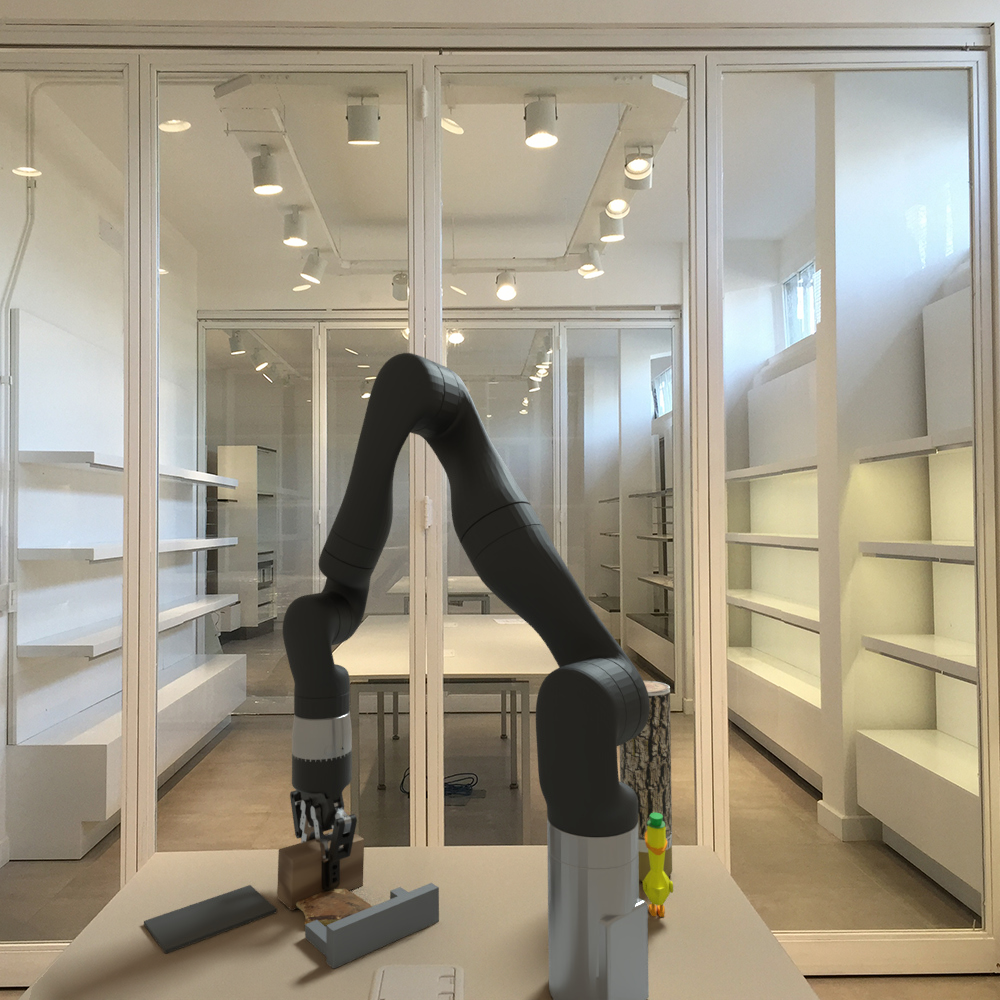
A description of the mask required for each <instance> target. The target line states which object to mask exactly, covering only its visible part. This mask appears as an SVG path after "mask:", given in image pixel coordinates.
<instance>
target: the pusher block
mask: <svg viewBox="0 0 1000 1000" xmlns="http://www.w3.org/2000/svg"><path fill="white" fill-rule="evenodd" d="M330 843H331V841H329V842H328V851H329V849H330ZM342 847H343V845H342ZM364 855H365V838H363V837H361V836H360V835H358V834H357V833H354V838H353V843H352V848H351V853H350V856H349V857H346V858H343V859H340V884H339V886H338V887H337V888H335V889H344V888H345V889H346V890H348V891H349V892H350V891H351V890H354V889H357V888H361V887H363V886H364V860H365V859H364V857H365V856H364ZM277 857H278V860H277V865H278V866H277V887H276V888H277V889H276V891H277V895H276V898H277V899H278V900H279V901H281V903H282V904H284V905H285V906H286V907H287V908H288V909H289V910H290V911H293V910H296V909H299V908H298V907H297V906H296V903H297V902H298V901H300V900H302V899H305V898H308V897H310V896H313V895H316V894H319V893H321V892H324V890H323V889H322V858H321V849H320V843H318V842H316V839H313V840H309V841H306V842H302V843H301V842H300V843H296V844H292V845H289V846H285V847H281V848H278V856H277Z"/></svg>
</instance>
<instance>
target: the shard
mask: <svg viewBox="0 0 1000 1000" xmlns="http://www.w3.org/2000/svg"><path fill="white" fill-rule="evenodd" d="M296 906H297V907H298V908H297V909H299V910H300V911H302V913H303V914H304V917H305V918H304V925H305V924H308V923H310V922H313V921H315V920H318V921H319V922H320V923H321V924H323V925H324V926H325V927H326V925H328V924H331V923H333V922H336V921H338V920H341V919H343V918H346V917H348V916H350V915H353V914H355V913H358V912H360V911H363V910H365V909H368V908H370V907H373V906H372V905H371V904H370V903H368V902H367V901H366V900H364V899H363V898H362V897H360V896H358V895H357V894H355V893H354V892H352V891H350V890H349V891H348V890H346V889H345V888H344V889H332V890H329V891H324V892H321V893H319V894H316V895H313V896H310V897H308V898H305V899H302V900H300V901H298V902H297V903H296Z"/></svg>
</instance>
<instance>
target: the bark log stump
mask: <svg viewBox="0 0 1000 1000" xmlns="http://www.w3.org/2000/svg"><path fill="white" fill-rule="evenodd" d="M643 681H644V684H645V686H646V689H647V692H648V696H649V702H650V712H649V718H648V722H647V724H646V726H645V728H644V729H643V730H642V732H641V733H640V734H638V735H637V736H636V737H634V738H633V739H631V740H629V741H627V742H625V743H623V744H621V745H619V781H620V782H622V783H625V784H627V785H628V786H630V787H631V788H632V789H633V790H634V792H635V793H636V796H637V800H638V847H639V849H638V855H639V883H640V882H641V883H643V880H644V879H645V877H646V876H647V874H648V873H649V871H650V870H651V869H650V861H649V853H648V848H647V847H646V843H645V833H646V831H647V826H648V824H647V822H648V821H649V820H650V814H651V813H655V812H656V813H661V814H662V815H663V819H662V821H664V822H665V827H666V839H667V842H668V843H667V848H666V850H665V859H664V868H663V871H664V872H665V873H666V875H667V876H668V878H669V877H671V875H672V872H673V822H672V821H673V817H672V816H673V815H672V814H673V812H672V810H673V809H672V808H673V807H672V805H673V804H672V802H673V801H672V800H673V799H672V797H673V796H672V746H671V745H672V741H671V740H672V739H671V737H672V733H671V729H672V728H671V727H672V726H671V689H670V688H671V687H670V685H669V684H666V683H665V682H659V681H652V680H643Z"/></svg>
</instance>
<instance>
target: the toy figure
mask: <svg viewBox="0 0 1000 1000" xmlns="http://www.w3.org/2000/svg"><path fill="white" fill-rule="evenodd" d="M662 819H663V815H662V814H661V813H656V812H655V813H651V814H650V820H649V821H648V822H647V824H648V826H647V831H646V833H645V843H646V847H647V848H648V853H649V861H650V869H651V870H650V871H649V873H648V874H647V876H646V877H645V879H644V880H643V882H642V891H643V892H644V893H645V895H646V897H647V898H648V900H649V902H650V904H648V913H650V916H651V917H657V915H658V916H659V917H660V918H664V917H665V912H666V908H665V905H664V904H665V902H666V901H667V899H668V898H669V896H670V894H672V893H674V883H673V882H674V881H672V880H671V879H670V878H669V877H668V876H667V875H666V873H665V872H664V871H663V868H664V859H665V850H666V848H667V843H668V842H667V839H666V827H665V822H664V821H662Z"/></svg>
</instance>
